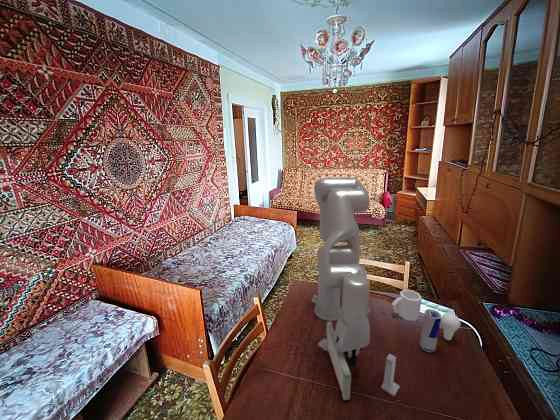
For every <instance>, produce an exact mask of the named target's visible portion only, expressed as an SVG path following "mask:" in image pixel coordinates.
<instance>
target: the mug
mask: <svg viewBox="0 0 560 420" xmlns="http://www.w3.org/2000/svg"><path fill="white" fill-rule="evenodd" d="M422 300H423V299H422V296H421V294H420V293H419V292H417V291H415V290H413V289H412V290H411V289H402V290H401V291H399V297H396V298H395V300H393V301H392V302H391V306H392V309H393V312H394V313H395V314H398V315H399V317H401V318H402V319H404V320H406V321H410V322H411V321H412V322H416V321H417V320H418V319H420V313H421V312H420V311H421V306H422Z"/></svg>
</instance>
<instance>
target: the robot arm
mask: <svg viewBox="0 0 560 420" xmlns="http://www.w3.org/2000/svg"><path fill="white" fill-rule="evenodd" d="M313 185H314V187H313V190H314V196H315V200H316V203H317V205H318V209H319V234H320V239H321V241H323V242H324V243H323V245H322V246H320V247H319V248H318V249H317V253H316V258H317V267H318V289H317V290H318V291H317V295H316V294H313V296H312V299H311V302H312V303H314V304H315V306H314V308H313V309H314V314H315V315H316V316H317V318H320V319H321V320H323V321H326V322H327V321H331V322H333V321H336V324H335V329H334V331H335V337H334V341H335V343H337V346H336V351H337V353H343V355H345V360H346V363H347V365H348V367H350V369H351V368H355V367H356V365H357V358H358V356H359V355H360V352H361V351H362V350H363V349H364V348H366V347H367V346H369V344H370V340H371V339H370V337H371V330H370V329H371V328H370V326H371V325H370V321H369V317H368V314H369V313H371V308H370V307H369V300H370V288H371V285H370V284H371V283H370V281H369V279H368V278H367V277H368V276H367V275H368V274H367V271H366V269H365V267H364V265H362V264H360V260H361V259H360V258H361V257H360V255H361V253H360V249H361V248H360V247H361V245H360V242H361V241H360V228H359V225H358V223H357V221H356V219H355V213H365V212H368V210H369V207H370V205H371V202H370V196H369V192H368V191H367V189H366V187H365V186H364V185H363V183H362V182H361V181H360V179H358V178H356V177H351V176H350V177H345V176H344V177H324V178H323V177H322V178H318V179H317V180H316V181H315V182H314V184H313ZM338 243H346V244H338ZM341 289H342V295H341ZM341 296H342V297H341ZM341 298H342V299H341ZM340 304H341V305H340Z"/></svg>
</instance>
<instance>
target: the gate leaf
mask: <svg viewBox="0 0 560 420" xmlns="http://www.w3.org/2000/svg"><path fill="white" fill-rule="evenodd" d="M334 337H335V329H334V327H333V326H332V327H328V351H327V352H328V354H329V356H330V359H331V363H332V366H333V369H334V373H335V376H336V378H337V381H338V384H339V387H340V390H341V397H342V400H343V401H348V400H349V401H350V400H351V399H350V398H351V386H352V385H351V384H352V373H351V370H350V368H349V364H347V362H346V356H345V354H344V353H337V351H336V346H337V343H335V341H334Z"/></svg>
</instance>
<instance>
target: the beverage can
mask: <svg viewBox="0 0 560 420" xmlns="http://www.w3.org/2000/svg"><path fill="white" fill-rule="evenodd" d="M441 317H442V314H441V313H440V312H439V311H436V310H435V309H429V308H428V309H427V308H426V310H424V315H423V320H422V327H421V334H420V338H419V339H420V341H419V347H420V348H421V349H422V350H423V351H425V352H427V353H433V352H435V351H436V350H437V343H438V337H439V331H440V327H441Z"/></svg>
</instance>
